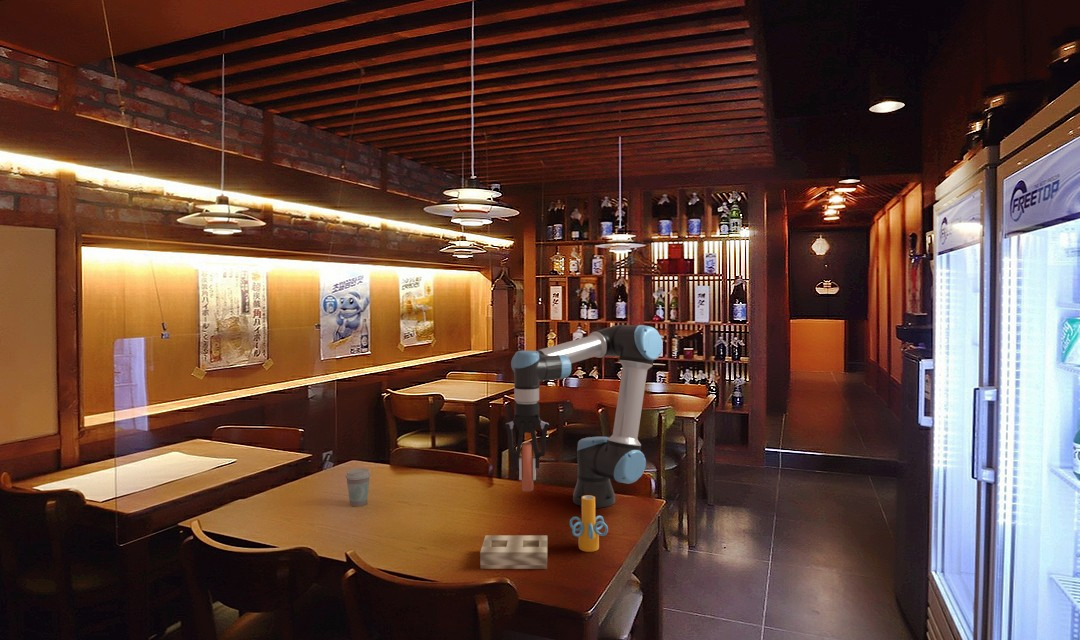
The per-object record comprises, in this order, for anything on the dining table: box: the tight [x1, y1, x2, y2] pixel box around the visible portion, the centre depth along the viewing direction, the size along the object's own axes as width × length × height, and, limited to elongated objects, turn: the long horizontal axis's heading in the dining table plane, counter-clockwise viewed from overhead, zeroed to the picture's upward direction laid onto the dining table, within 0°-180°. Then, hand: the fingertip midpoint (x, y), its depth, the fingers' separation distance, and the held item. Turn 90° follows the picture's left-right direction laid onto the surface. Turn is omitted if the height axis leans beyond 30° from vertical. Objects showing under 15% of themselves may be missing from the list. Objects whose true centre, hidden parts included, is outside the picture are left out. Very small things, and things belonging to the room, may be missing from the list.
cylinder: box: [569, 495, 609, 553], centre depth 178 cm, size 12×10×15 cm
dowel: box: [521, 442, 534, 492], centre depth 185 cm, size 4×4×14 cm
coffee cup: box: [345, 467, 371, 508], centre depth 220 cm, size 8×8×12 cm
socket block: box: [479, 534, 549, 570], centre depth 171 cm, size 18×12×4 cm, turn 88°
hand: (527, 478), depth 185 cm, fingers closed on dowel, 3 cm apart
